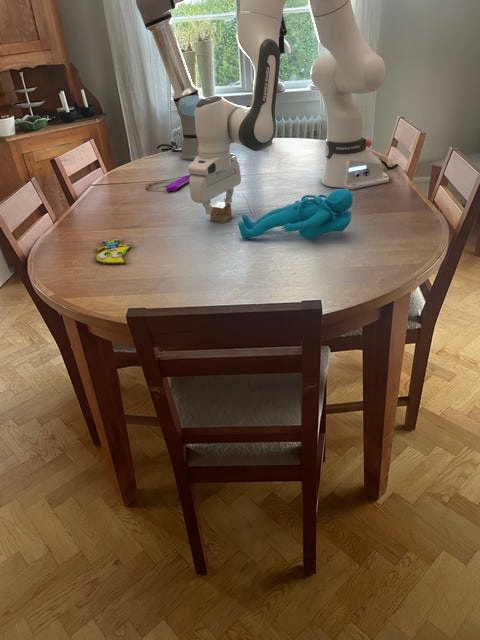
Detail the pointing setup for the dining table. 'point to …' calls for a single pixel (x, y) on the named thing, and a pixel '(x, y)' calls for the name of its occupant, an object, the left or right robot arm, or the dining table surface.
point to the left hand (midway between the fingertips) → (273, 55)
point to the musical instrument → (174, 183)
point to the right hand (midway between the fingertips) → (219, 208)
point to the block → (221, 212)
